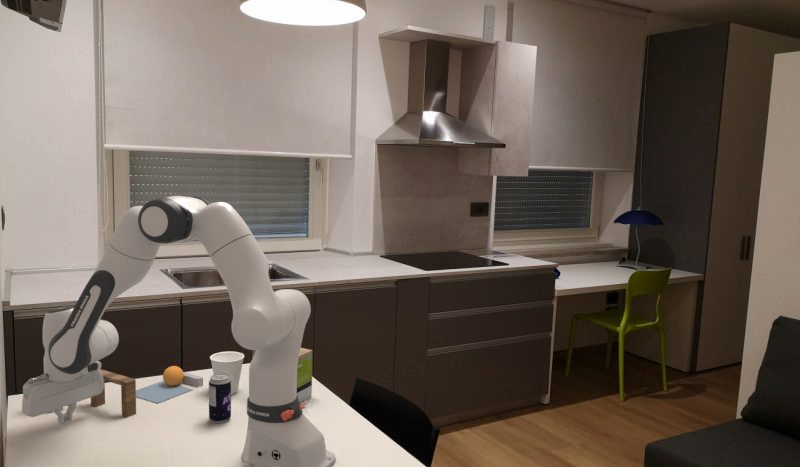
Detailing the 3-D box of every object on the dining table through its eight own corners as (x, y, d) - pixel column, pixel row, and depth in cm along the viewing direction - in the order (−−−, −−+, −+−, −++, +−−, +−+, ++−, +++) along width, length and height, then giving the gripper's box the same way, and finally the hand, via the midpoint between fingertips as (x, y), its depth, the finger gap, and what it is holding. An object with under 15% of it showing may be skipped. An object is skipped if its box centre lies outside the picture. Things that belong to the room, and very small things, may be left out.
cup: (207, 388, 197) (207, 353, 196) (240, 384, 201) (240, 350, 200) (212, 400, 188) (212, 363, 187) (247, 395, 192) (247, 359, 191)
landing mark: (192, 389, 195) (192, 389, 195) (157, 403, 184) (157, 403, 184) (163, 381, 202) (162, 380, 202) (127, 394, 191) (127, 393, 190)
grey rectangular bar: (203, 385, 200) (203, 377, 199) (198, 387, 198) (198, 379, 198) (175, 377, 205) (175, 369, 205) (170, 379, 204) (170, 371, 203)
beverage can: (224, 425, 171) (224, 381, 170) (205, 422, 172) (204, 379, 171) (234, 417, 177) (234, 374, 175) (215, 414, 178) (215, 372, 176)
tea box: (250, 397, 191) (251, 348, 189) (272, 387, 200) (273, 340, 198) (292, 408, 184) (292, 357, 182) (312, 397, 193) (313, 348, 191)
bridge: (136, 413, 177) (135, 379, 176) (126, 417, 174) (126, 382, 173) (100, 402, 184) (99, 368, 183) (90, 405, 182) (90, 371, 180)
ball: (189, 383, 200) (186, 365, 198) (172, 391, 195) (169, 373, 193) (176, 378, 203) (174, 360, 202) (160, 386, 198) (157, 368, 197)
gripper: (30, 383, 155) (32, 439, 156) (106, 361, 172) (107, 411, 174) (15, 378, 158) (17, 432, 159) (91, 356, 175) (92, 406, 177)
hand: (65, 421), depth 167 cm, fingers closed
